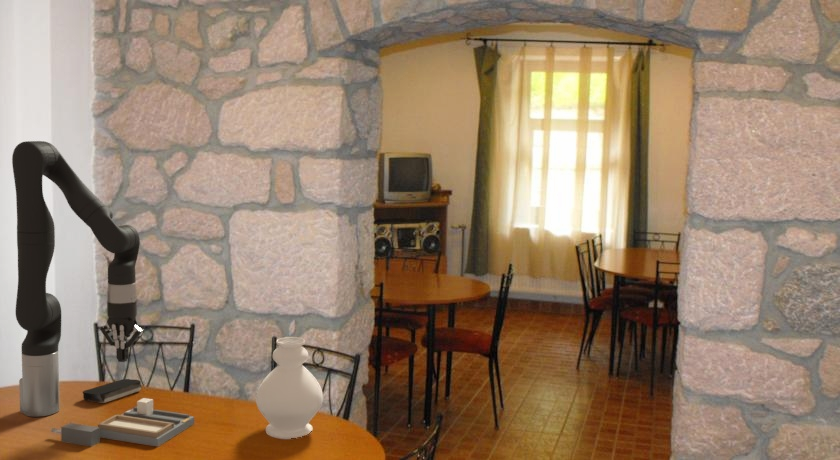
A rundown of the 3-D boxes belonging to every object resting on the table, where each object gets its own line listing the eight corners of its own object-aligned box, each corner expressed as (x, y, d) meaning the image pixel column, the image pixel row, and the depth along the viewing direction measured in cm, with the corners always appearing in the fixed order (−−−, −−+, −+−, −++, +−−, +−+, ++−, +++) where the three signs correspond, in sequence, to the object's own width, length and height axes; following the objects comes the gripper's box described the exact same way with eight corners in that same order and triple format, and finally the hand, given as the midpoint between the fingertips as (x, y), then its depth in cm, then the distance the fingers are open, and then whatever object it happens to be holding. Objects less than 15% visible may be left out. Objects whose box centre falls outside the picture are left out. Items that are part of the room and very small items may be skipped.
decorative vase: (288, 413, 228) (290, 328, 225) (335, 429, 218) (337, 340, 215) (241, 431, 214) (242, 340, 210) (289, 448, 203) (291, 353, 200)
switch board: (93, 436, 207) (93, 424, 206) (134, 414, 223) (134, 403, 222) (157, 446, 202) (157, 434, 201) (194, 423, 218) (194, 412, 217)
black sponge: (99, 407, 228) (99, 395, 228) (80, 401, 232) (80, 389, 232) (144, 392, 242) (144, 380, 242) (125, 387, 247) (125, 375, 246)
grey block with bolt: (48, 439, 204) (48, 424, 203) (57, 435, 207) (56, 420, 206) (91, 447, 200) (91, 431, 200) (99, 442, 203) (99, 427, 203)
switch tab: (137, 415, 217) (137, 401, 216) (143, 411, 219) (143, 397, 219) (146, 417, 216) (146, 402, 215) (153, 413, 219) (153, 399, 218)
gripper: (91, 299, 214) (93, 362, 216) (134, 304, 210) (135, 367, 212) (109, 294, 221) (110, 355, 223) (151, 298, 217) (151, 360, 220)
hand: (122, 361), depth 218 cm, fingers closed
